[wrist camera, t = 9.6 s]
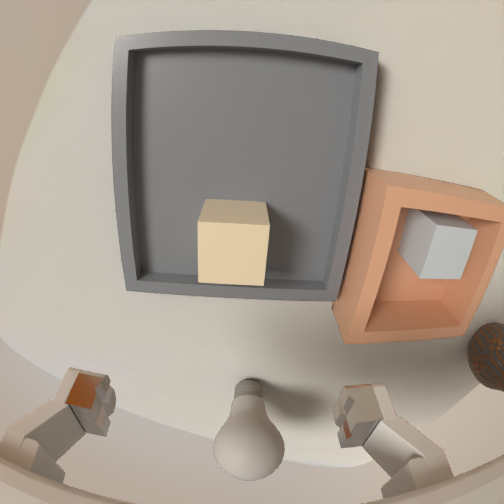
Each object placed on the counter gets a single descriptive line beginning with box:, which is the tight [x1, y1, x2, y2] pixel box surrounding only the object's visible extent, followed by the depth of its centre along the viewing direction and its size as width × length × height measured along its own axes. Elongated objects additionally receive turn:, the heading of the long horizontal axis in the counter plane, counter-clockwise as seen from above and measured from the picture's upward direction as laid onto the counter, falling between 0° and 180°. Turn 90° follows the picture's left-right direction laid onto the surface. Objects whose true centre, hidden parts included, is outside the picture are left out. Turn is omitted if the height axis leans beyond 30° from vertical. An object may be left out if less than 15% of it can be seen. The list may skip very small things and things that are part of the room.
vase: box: [468, 323, 504, 391], centre depth 26 cm, size 7×7×9 cm
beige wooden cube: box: [198, 199, 270, 286], centre depth 20 cm, size 4×4×4 cm
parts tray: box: [111, 30, 379, 301], centre depth 20 cm, size 18×16×2 cm
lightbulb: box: [213, 380, 285, 481], centre depth 26 cm, size 6×6×11 cm
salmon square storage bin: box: [332, 167, 504, 344], centre depth 22 cm, size 12×12×4 cm
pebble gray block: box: [398, 208, 478, 279], centre depth 20 cm, size 4×4×4 cm
